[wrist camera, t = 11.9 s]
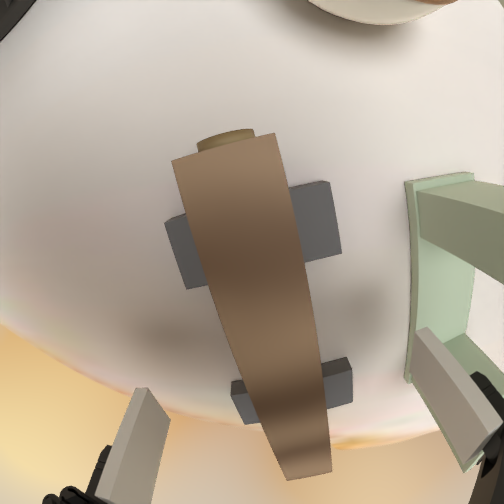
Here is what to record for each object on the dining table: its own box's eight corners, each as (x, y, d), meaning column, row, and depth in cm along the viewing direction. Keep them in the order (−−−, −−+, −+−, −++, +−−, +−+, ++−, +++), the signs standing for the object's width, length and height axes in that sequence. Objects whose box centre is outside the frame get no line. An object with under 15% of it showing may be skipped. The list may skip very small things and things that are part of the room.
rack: (404, 181, 15) (569, 225, 3) (465, 171, 14) (599, 202, 3) (403, 377, 20) (459, 477, 8) (453, 354, 19) (516, 435, 8)
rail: (196, 152, 13) (166, 144, 8) (264, 134, 13) (270, 115, 8) (283, 437, 20) (287, 483, 15) (322, 429, 19) (332, 474, 15)
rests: (171, 218, 16) (164, 223, 14) (322, 180, 15) (329, 182, 13) (245, 411, 20) (244, 424, 19) (348, 389, 20) (352, 402, 18)
